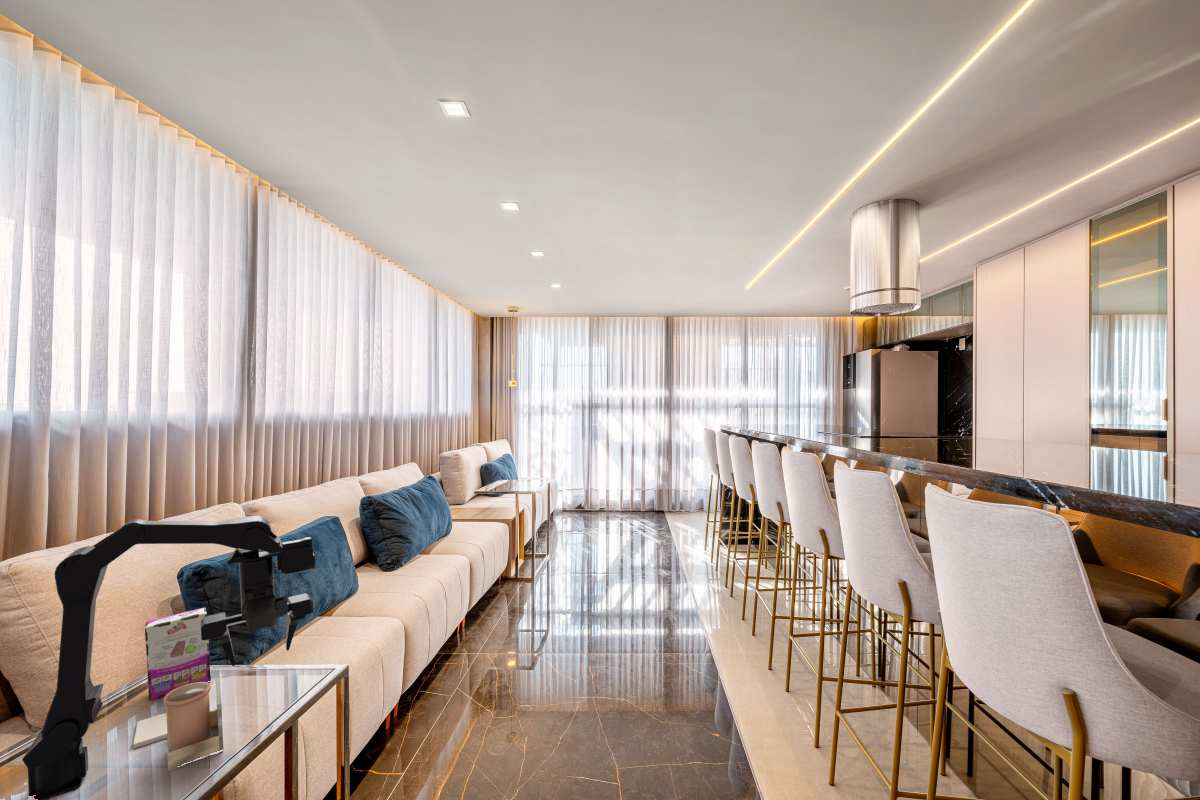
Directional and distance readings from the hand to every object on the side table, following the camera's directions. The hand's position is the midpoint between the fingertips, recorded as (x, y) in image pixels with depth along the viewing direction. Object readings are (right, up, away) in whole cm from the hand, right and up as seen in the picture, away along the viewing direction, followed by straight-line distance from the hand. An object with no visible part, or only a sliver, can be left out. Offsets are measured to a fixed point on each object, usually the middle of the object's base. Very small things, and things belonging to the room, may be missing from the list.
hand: (261, 657), depth 108 cm
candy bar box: (-27, -14, +14) cm, 34 cm away
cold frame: (-9, -14, -7) cm, 18 cm away
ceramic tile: (-19, -14, -1) cm, 23 cm away
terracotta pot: (-9, -14, -7) cm, 18 cm away
